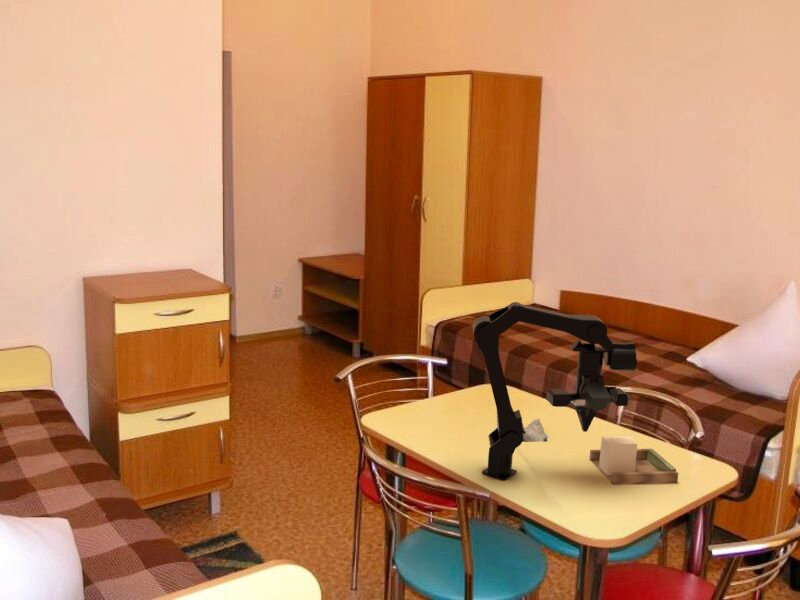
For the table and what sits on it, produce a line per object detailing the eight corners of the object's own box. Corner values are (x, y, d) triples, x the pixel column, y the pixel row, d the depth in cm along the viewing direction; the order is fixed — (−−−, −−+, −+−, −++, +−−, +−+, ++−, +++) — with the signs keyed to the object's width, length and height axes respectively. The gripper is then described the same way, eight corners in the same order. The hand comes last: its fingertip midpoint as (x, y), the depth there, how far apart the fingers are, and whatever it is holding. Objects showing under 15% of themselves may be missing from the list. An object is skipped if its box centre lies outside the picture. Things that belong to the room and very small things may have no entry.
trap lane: (612, 490, 184) (614, 472, 183) (589, 464, 199) (590, 448, 198) (676, 488, 186) (678, 471, 185) (648, 463, 201) (650, 446, 200)
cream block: (606, 475, 189) (609, 444, 187) (599, 467, 193) (601, 436, 192) (634, 474, 190) (637, 443, 188) (625, 466, 194) (628, 436, 193)
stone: (555, 435, 220) (556, 421, 219) (540, 447, 209) (541, 432, 209) (534, 430, 223) (535, 416, 222) (517, 442, 212) (518, 428, 212)
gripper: (562, 379, 176) (557, 444, 179) (641, 378, 179) (635, 443, 182) (547, 365, 187) (543, 427, 190) (622, 365, 189) (616, 426, 192)
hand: (584, 431), depth 188 cm, fingers closed
